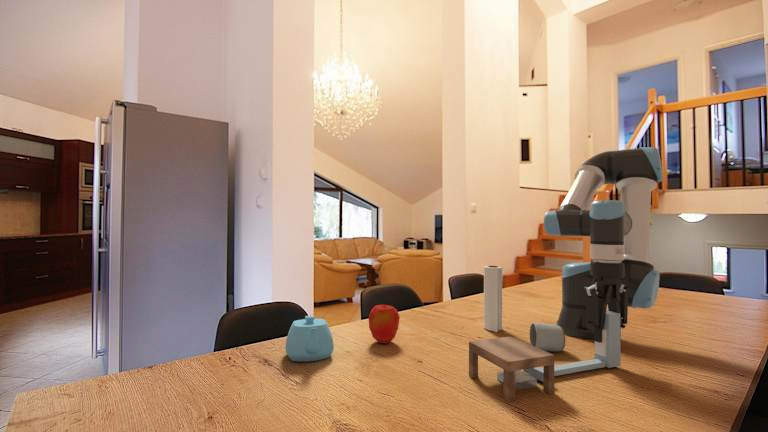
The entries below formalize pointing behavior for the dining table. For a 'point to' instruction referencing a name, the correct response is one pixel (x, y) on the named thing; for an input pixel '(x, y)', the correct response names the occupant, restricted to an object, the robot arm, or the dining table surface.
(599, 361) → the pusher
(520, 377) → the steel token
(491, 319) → the paper towel roll
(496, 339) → the walnut table
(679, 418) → the dining table surface
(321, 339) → the teapot
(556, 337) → the ceramic mug
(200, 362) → the dining table surface
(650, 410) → the dining table surface
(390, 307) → the apple
